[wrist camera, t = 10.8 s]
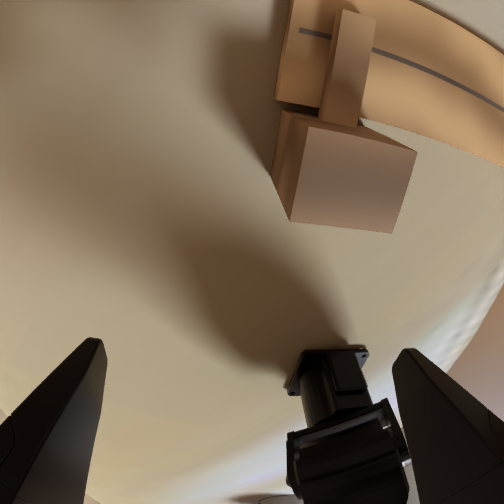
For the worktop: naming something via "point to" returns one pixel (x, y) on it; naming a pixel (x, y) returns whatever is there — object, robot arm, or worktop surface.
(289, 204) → the brown block with bar
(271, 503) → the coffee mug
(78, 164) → the worktop surface
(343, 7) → the plank
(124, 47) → the worktop surface
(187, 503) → the worktop surface
